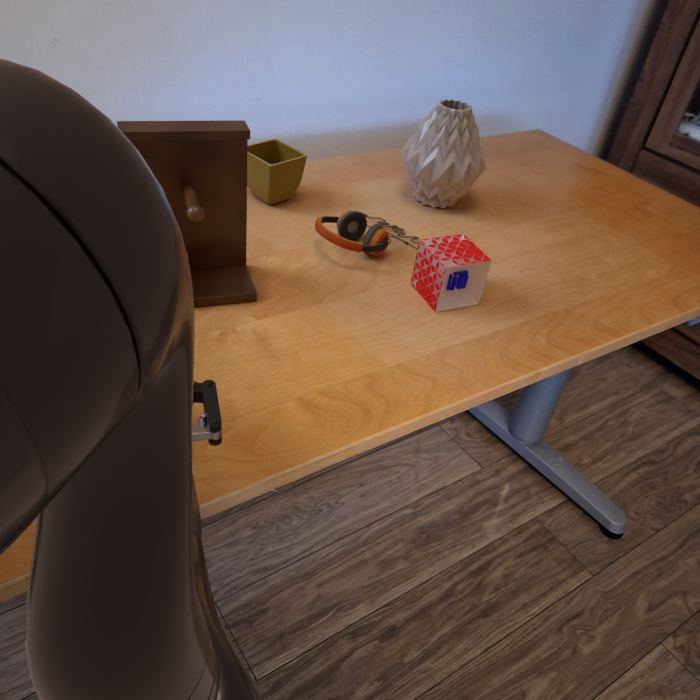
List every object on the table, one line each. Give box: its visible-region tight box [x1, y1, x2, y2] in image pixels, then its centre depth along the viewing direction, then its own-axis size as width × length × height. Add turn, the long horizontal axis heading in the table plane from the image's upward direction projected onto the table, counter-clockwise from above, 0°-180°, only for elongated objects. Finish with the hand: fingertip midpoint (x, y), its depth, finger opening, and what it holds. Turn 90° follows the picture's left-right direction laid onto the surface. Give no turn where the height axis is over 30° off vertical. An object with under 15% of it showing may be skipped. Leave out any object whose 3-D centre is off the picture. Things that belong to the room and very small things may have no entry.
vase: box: [400, 98, 487, 209], centre depth 117 cm, size 16×16×18 cm
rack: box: [116, 119, 258, 309], centre depth 83 cm, size 16×10×23 cm, turn 109°
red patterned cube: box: [410, 233, 493, 313], centre depth 94 cm, size 8×8×8 cm
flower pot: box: [247, 138, 308, 206], centre depth 112 cm, size 9×9×9 cm
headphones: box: [314, 210, 419, 256], centre depth 104 cm, size 17×5×20 cm
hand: (130, 367), depth 58 cm, fingers open, 8 cm apart
